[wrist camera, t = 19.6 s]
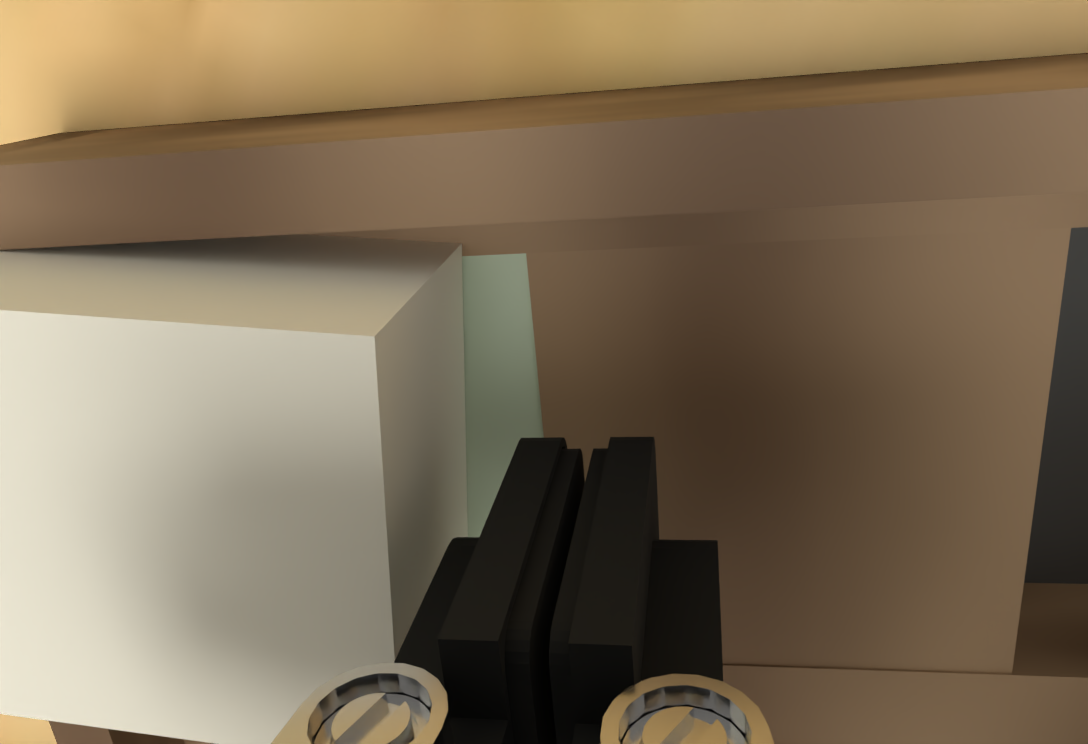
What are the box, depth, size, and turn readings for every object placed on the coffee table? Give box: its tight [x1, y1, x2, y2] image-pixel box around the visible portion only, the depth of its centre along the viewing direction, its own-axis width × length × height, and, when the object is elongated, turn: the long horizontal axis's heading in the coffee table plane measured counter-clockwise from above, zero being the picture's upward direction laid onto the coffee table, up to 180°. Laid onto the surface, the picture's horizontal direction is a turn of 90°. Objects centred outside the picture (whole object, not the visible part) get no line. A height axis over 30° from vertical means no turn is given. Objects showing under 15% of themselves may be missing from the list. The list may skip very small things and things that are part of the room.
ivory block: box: [0, 234, 468, 744], centre depth 11 cm, size 6×6×4 cm
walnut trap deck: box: [0, 53, 1088, 744], centre depth 14 cm, size 22×18×4 cm
